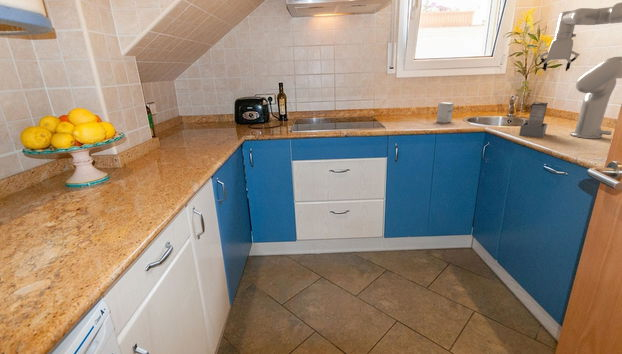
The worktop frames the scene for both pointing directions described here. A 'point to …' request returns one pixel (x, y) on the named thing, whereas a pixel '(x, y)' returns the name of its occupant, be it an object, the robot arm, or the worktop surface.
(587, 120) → the robot arm
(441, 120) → the supplement box
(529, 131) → the bin
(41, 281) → the worktop surface
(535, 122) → the coffee box
